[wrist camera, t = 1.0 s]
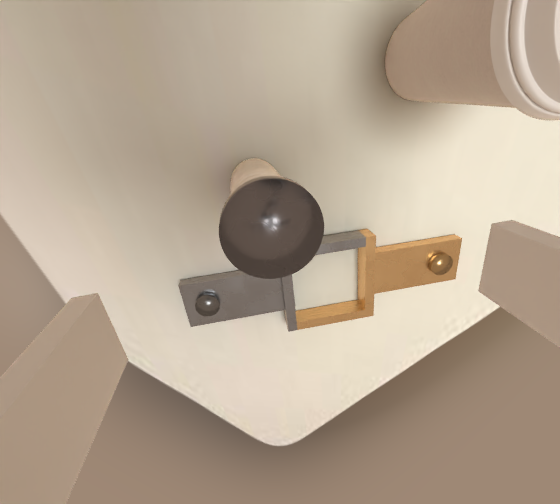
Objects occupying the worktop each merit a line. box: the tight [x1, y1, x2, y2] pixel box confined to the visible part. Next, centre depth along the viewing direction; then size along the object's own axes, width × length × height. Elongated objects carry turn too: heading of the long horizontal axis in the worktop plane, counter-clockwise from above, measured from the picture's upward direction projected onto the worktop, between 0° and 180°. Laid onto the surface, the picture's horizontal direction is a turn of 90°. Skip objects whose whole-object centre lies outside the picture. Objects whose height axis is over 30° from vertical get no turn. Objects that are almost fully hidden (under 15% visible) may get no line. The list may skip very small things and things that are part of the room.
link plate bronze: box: [296, 229, 462, 330], centre depth 31 cm, size 10×19×2 cm, turn 96°
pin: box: [219, 158, 324, 279], centre depth 21 cm, size 5×5×13 cm
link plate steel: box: [179, 230, 366, 332], centre depth 31 cm, size 10×19×2 cm, turn 96°
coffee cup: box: [385, 0, 560, 120], centre depth 18 cm, size 10×10×15 cm
